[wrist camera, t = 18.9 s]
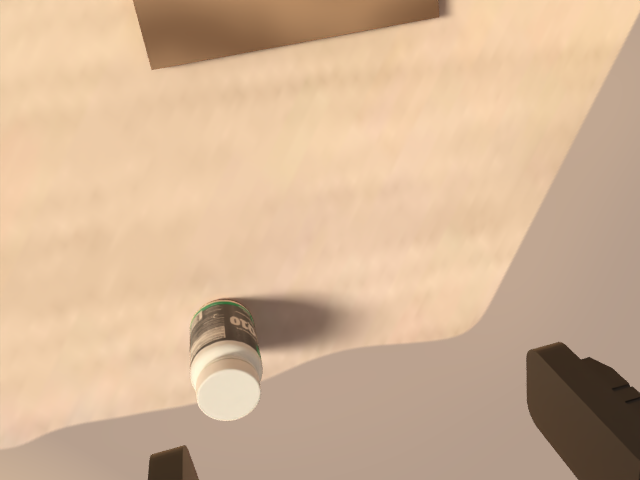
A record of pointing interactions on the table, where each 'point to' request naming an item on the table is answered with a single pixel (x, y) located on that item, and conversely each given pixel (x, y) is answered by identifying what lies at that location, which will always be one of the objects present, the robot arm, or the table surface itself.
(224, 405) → the pill bottle
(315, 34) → the board
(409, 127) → the table surface
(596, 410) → the robot arm
